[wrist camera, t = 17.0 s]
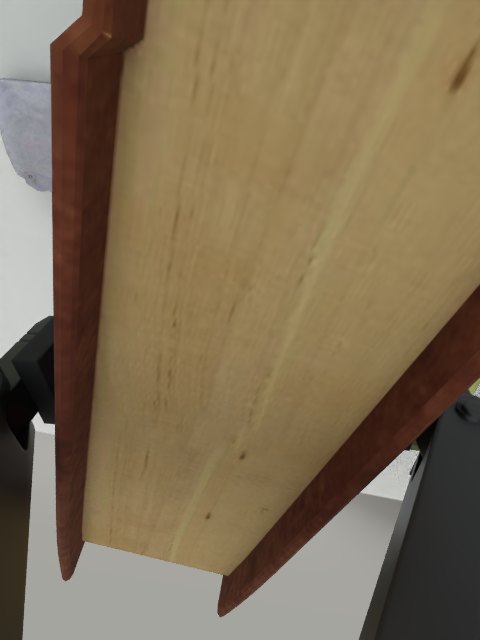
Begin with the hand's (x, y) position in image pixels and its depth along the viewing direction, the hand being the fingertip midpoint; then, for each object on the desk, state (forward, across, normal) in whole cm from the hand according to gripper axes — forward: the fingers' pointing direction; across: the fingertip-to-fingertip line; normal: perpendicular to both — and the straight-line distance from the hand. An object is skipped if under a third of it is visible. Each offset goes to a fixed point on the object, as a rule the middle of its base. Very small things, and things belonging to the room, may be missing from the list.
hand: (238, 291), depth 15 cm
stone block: (+23, -18, +3) cm, 29 cm away
